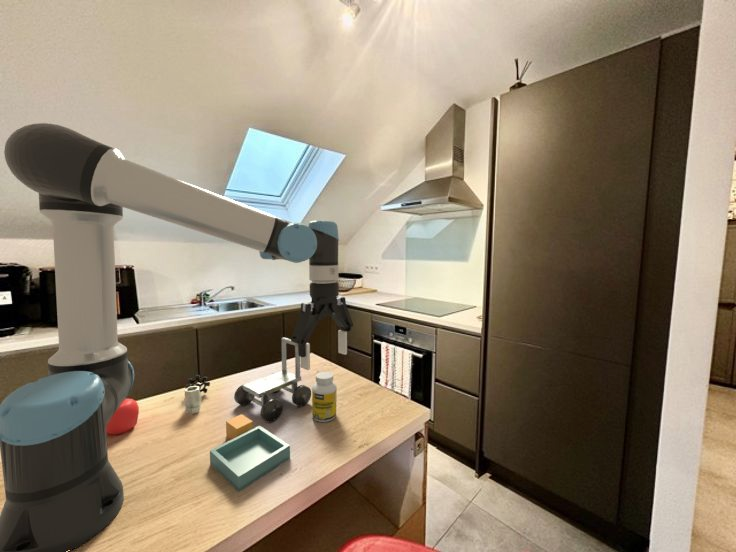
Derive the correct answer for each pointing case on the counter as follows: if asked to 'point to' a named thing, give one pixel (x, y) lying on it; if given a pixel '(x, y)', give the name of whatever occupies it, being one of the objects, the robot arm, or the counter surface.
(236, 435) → the block
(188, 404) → the valve
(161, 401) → the counter surface
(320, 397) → the pill bottle
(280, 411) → the trolley
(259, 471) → the tray
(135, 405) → the apple
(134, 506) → the counter surface
